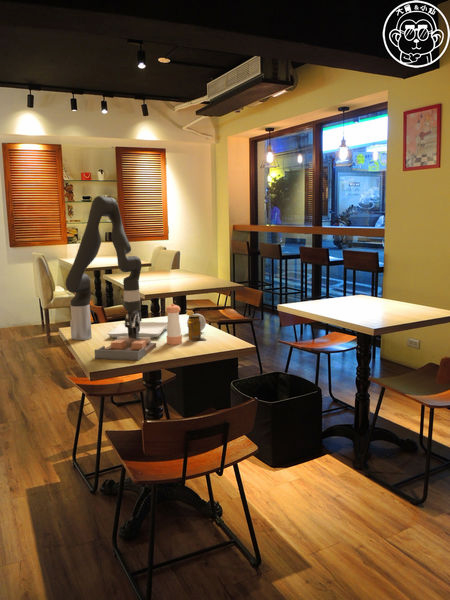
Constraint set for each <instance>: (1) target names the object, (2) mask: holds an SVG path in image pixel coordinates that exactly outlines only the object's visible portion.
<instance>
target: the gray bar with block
mask: <svg viewBox="0 0 450 600" xmlns="http://www.w3.org/2000/svg"><path fill="white" fill-rule="evenodd" d="M116 340H126V344H132V343H133V342H134V341H146V345H150V344H151V343H152V338H151V337H139V327H138V326H133V336H128V337H124V336H118V337H117V338H116Z"/></svg>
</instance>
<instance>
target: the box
mask: <svg viewBox="0 0 450 600" xmlns="http://www.w3.org/2000/svg"><path fill="white" fill-rule="evenodd" d="M105 348H106V346H105V345H103V346H101V347H99V348H97V349H94V359H95V360H112V361H113V360H114V361H116V360H117V361H135V362H137V361H139V360H141V359H143V358H144V357H145V356H146V355H145V348H144V347H143V348H142V349H141V350H139V351H122V350H105Z"/></svg>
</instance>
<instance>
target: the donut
mask: <svg viewBox="0 0 450 600" xmlns="http://www.w3.org/2000/svg"><path fill="white" fill-rule="evenodd" d="M192 315H198V316H199V319H200V327H201V332H202V331H203V330H204V329H205V327H206V326H207V325H206V323H207V321H206V319H205V317H204V315H202V314H200V313H193V314H192ZM188 321H189V317H188V319H187V321H186V324H187V327H188Z"/></svg>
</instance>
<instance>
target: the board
mask: <svg viewBox="0 0 450 600" xmlns="http://www.w3.org/2000/svg"><path fill="white" fill-rule="evenodd" d="M144 348H145V356H146V355H147V354H149V353H150V352H152V351H153V350H154V349H156V348H157V342H151V344H150V345H146V347H144ZM105 350H122V351H139V350H141V349H132V344H126V346H124V347H123V348H111V344H110V345H108V346H107V347H106V346H105Z"/></svg>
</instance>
